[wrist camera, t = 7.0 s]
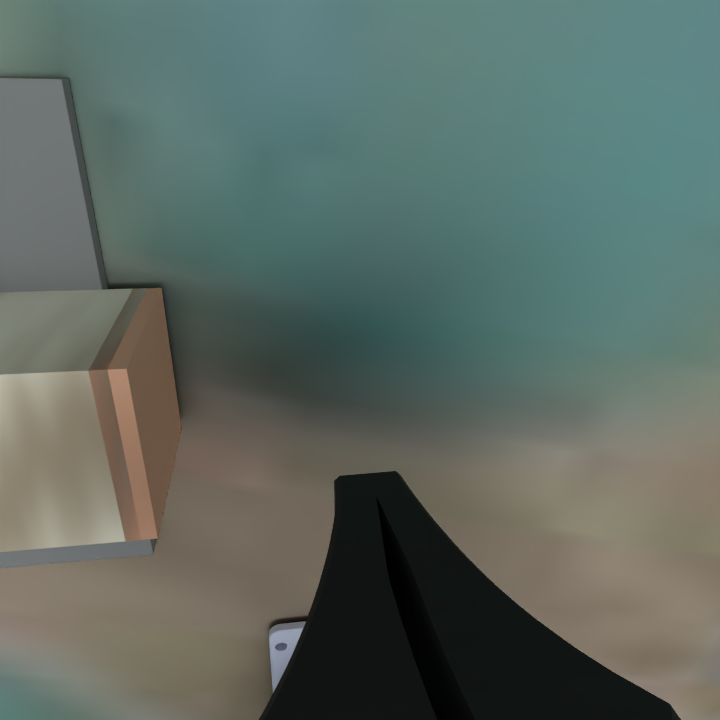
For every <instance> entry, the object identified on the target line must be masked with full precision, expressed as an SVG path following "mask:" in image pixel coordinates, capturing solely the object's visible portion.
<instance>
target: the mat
mask: <svg viewBox="0 0 720 720" xmlns="http://www.w3.org/2000/svg"><path fill="white" fill-rule="evenodd" d="M102 289H108V286H107V281H106V275H105V270H104V265H103V259H102V254H101V249H100V243H99V238H98V233H97V227H96V222H95V217H94V211H93V206H92V201H91V195H90V190H89V185H88V179H87V174H86V169H85V163H84V158H83V153H82V147H81V142H80V137H79V131H78V126H77V121H76V115H75V110H74V105H73V100H72V94H71V89H70V84H69V78H29V77H0V292H33V291H68V290H102ZM155 544H156V541H155V539H148V540H137V541H125V542H113V543H102V544H90V545H78V546H66V547H55V548H43V549H31V550H19V551H8V552H0V568H9V567H20V566H31V565H42V564H53V563H65V562H76V561H87V560H98V559H110V558H121V557H132V556H143V555H153V553H154V548H155Z"/></svg>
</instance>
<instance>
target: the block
mask: <svg viewBox="0 0 720 720" xmlns="http://www.w3.org/2000/svg"><path fill="white" fill-rule="evenodd" d="M181 430H182V429H181V422H180V415H179V408H178V401H177V394H176V387H175V380H174V373H173V366H172V359H171V352H170V345H169V337H168V330H167V323H166V316H165V309H164V302H163V295H162V288H137V289H102V290H68V291H33V292H0V552H8V551H19V550H31V549H43V548H55V547H66V546H78V545H90V544H102V543H113V542H125V541H137V540H148V539H158V536H159V531H160V526H161V522H162V517H163V513H164V508H165V503H166V499H167V494H168V490H169V485H170V480H171V476H172V471H173V467H174V462H175V457H176V453H177V448H178V443H179V439H180V434H181Z"/></svg>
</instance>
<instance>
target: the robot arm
mask: <svg viewBox="0 0 720 720" xmlns="http://www.w3.org/2000/svg"><path fill="white" fill-rule="evenodd" d="M334 491H335V517H334V524H333V529H332V534H331V540H330V545H329V549H328V554H327V557H326V561H325V565H324V568H323V572H322V575H321V579H320V583H319V586H318V589H317V592H316V595H315V598H314V601H313V604H312V607H311V609H310V612H309V615H308V617H307V620H306V621H303V622H294V623H284V624H278V625H275V626H273V627H272V628H271V629H270V630H269V647H270V661H271V674H272V688H273V694H272V696H271V698H270V700H269V702H268V704H267V706H266V708H265V710H264V712H263V713H262V715H261V717H260V719H259V720H681V719H680V718H679V716H678V715H677V714H676V712H675V711H674V709H673V708H672V706H671V705H670V704H669V703H667V702H665V701H664V700H662V699H660V698H658V697H656V696H655V695H653V694H651V693H649V692H648V691H646V690H644V689H642V688H641V687H639V686H637V685H635V684H633V683H632V682H630V681H628V680H626V679H625V678H623V677H621V676H619V675H617V674H616V673H614V672H612V671H611V670H609V669H607V668H606V667H604V666H603V665H601V664H600V663H598V662H596V661H595V660H593V659H592V658H590V657H589V656H587V655H586V654H584V653H582V652H581V651H579V650H578V649H576V648H575V647H573V646H572V645H571V644H569V643H568V642H566V641H565V640H564V639H562V638H561V637H560V636H558V635H557V634H555V633H554V632H553V631H551V630H550V629H549V628H547V627H546V626H545V625H543V624H542V623H540V622H539V621H538V620H536V619H535V618H534V617H532V616H531V615H530V614H529V613H528V612H526V611H525V610H524V609H523V608H521V607H520V606H519V605H518V604H517V603H515V602H514V601H513V600H512V599H511V598H510V597H508V596H507V595H506V594H505V593H504V592H503V591H502V590H500V589H499V588H498V587H497V586H496V585H495V584H494V583H493V582H492V581H491V580H490V579H489V578H487V577H486V576H485V575H484V574H483V573H482V572H481V571H480V570H479V569H478V568H477V567H476V566H475V565H474V564H473V563H472V562H471V561H470V560H469V559H468V558H467V557H466V556H465V554H464V553H463V552H462V551H461V550H460V549H459V548H458V547H457V546H456V545H455V544H454V543H453V542H452V540H451V539H450V538H449V537H448V536H447V535H446V533H445V532H444V531H443V530H442V529H441V528H440V527H439V525H438V524H437V523H436V522H435V521H434V519H433V518H432V517H431V516H430V515H429V513H428V512H427V511H426V510H425V508H424V507H423V506H422V504H421V503H420V502H419V501H418V499H417V498H416V497H415V495H414V494H413V492H412V491H411V490H410V488H409V487H408V486H407V484H406V483H405V481H404V480H403V478H402V477H401V475H400V474H398V473H397V472H396V471H392V472H380V473H368V474H357V475H345V476H339V477H338V478H337V479H336V480H335V481H334Z"/></svg>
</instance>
